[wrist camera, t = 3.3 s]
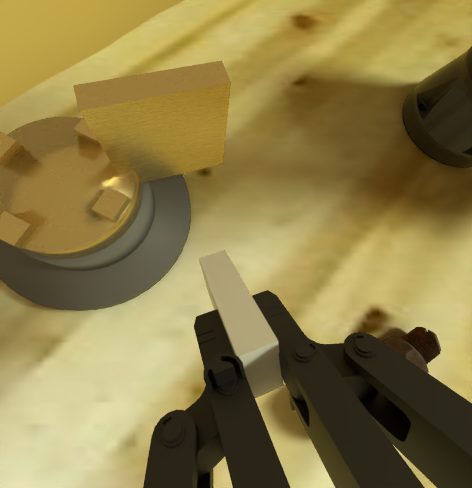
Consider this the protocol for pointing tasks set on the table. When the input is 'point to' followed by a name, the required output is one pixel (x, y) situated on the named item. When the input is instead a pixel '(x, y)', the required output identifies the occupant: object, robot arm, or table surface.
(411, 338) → the bolt
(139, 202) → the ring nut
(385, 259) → the table surface
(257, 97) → the table surface
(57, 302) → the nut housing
